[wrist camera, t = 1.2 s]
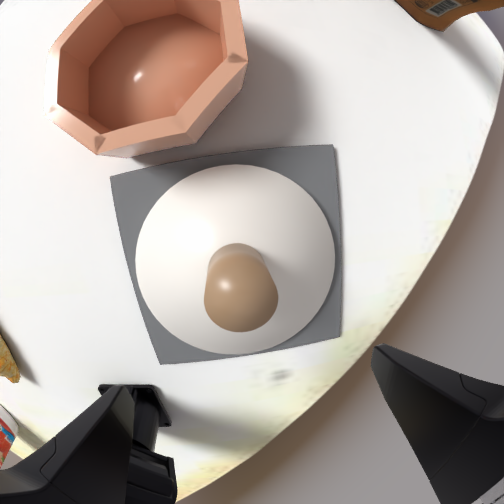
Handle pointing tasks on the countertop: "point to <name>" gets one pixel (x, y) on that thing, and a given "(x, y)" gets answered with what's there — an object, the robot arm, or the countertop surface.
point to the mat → (167, 175)
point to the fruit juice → (6, 433)
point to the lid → (235, 259)
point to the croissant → (8, 364)
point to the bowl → (145, 73)
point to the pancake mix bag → (445, 10)
